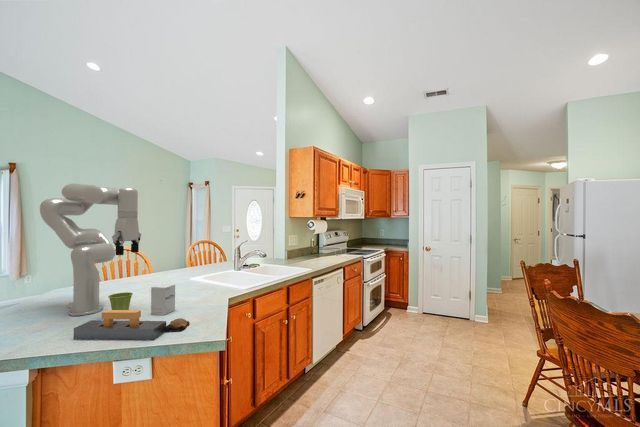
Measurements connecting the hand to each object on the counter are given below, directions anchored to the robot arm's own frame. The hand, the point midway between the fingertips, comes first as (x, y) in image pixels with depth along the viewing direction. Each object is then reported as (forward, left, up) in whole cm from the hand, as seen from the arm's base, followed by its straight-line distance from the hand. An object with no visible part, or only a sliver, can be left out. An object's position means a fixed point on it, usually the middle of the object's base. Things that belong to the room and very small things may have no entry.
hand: (127, 253), depth 130 cm
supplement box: (+13, +6, -28) cm, 32 cm away
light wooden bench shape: (+12, -20, -27) cm, 36 cm away
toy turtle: (+29, -12, -29) cm, 43 cm away
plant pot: (-6, +4, -28) cm, 29 cm away
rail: (+12, -20, -28) cm, 37 cm away
